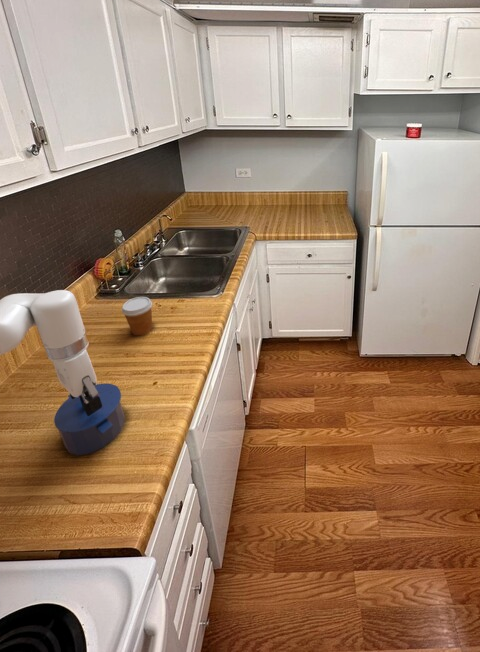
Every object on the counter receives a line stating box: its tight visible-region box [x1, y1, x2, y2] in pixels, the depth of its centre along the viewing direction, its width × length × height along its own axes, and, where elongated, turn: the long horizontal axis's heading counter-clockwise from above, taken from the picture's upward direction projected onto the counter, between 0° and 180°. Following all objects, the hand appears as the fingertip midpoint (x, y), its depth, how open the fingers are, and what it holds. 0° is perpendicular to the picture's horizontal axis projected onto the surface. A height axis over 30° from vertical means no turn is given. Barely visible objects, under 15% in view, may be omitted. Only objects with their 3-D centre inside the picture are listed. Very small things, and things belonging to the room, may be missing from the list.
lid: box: [53, 382, 122, 433], centre depth 80 cm, size 14×14×6 cm
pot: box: [58, 394, 126, 456], centre depth 82 cm, size 13×18×8 cm
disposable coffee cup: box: [121, 296, 153, 336], centre depth 117 cm, size 10×10×12 cm
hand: (86, 402), depth 80 cm, fingers open, 7 cm apart
